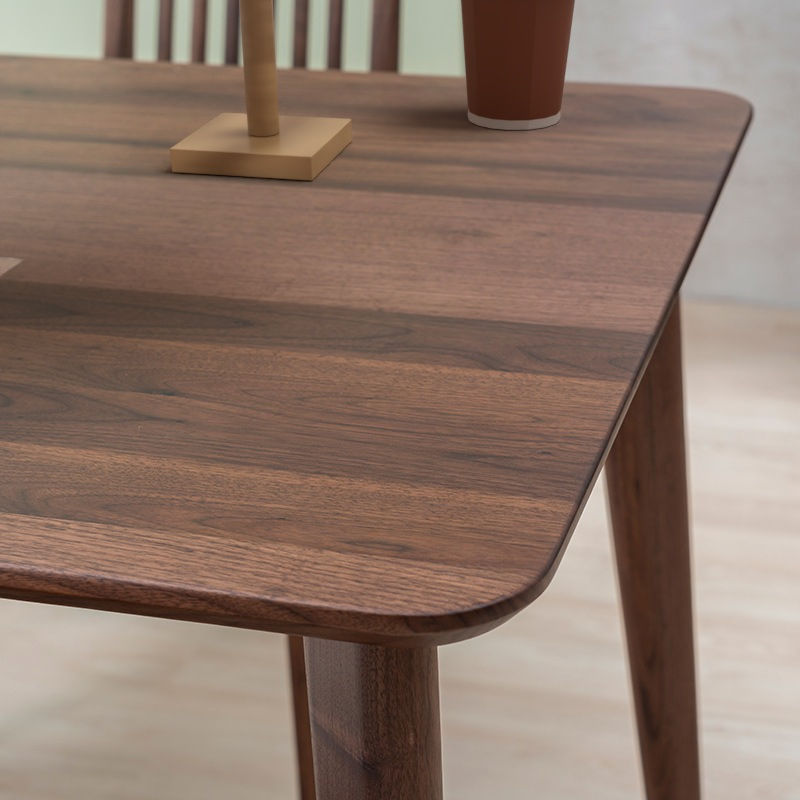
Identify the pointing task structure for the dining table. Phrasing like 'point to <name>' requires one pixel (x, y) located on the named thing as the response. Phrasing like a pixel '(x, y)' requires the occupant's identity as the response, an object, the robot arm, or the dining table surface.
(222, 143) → the tape stand
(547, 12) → the coffee cup
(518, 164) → the dining table surface
